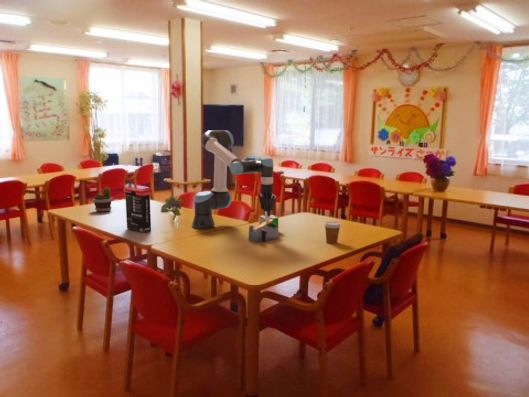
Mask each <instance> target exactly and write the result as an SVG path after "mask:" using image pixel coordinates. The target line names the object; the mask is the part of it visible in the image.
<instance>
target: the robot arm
mask: <svg viewBox="0 0 529 397" xmlns="http://www.w3.org/2000/svg"><path fill="white" fill-rule="evenodd" d="M200 141H201V142H200V143H201V145H202V147H203V148H204V150H206V151H207V152H211V153H212V154H213V155H214V163H213V165H214V168H213V169H214V170H213V188H211V191H210V190H208V191H207V190H205V191H200V192H196V193H195V194H194V199H193V201H194V217H193V221H192V223H191V227H192V228H194V229H199V230H200V229H201V230H206V229H212V228H215V225H216V224H215V221H214V217H213V211H215V210H222V209H223V210H224V209H226V208H229V207H230V205H231V203H232V195H231V192H229V189H228V187H227V178H228V177H227V176H228V175H227V174H228V173H227V171H228V170H227V169H228V167H229V171H230V173H231V174H232V175H244V174H256V173H257V174H260V190H261V191H260V193H258V194H257V196H258V199H259V204H260V209H261V210H263V216H265V222H268V221H270V215H271V212H272V211H274V207H275V204H276V203H275V202H276V199H277V195H275V194H274V192H273V191H274V159H273V158H271V157H263V158H260V160H257V159H256V160H255V159H251V160H245V161H243V160H241V159H240V158H238V157H237V156H236V155H235V154H234V153H233V152H231V151H230V149H231V148H232V147H233V145H234V143H235V142H234V136H233V134H232V133H231V132H230V131H229V130H223V129H221V130H220V129H218V130H217V129H215V130H207V131H205V132H204V133H203V134H202V135H201V139H200Z"/></svg>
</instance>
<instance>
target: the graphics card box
mask: <svg viewBox="0 0 529 397" xmlns="http://www.w3.org/2000/svg"><path fill="white" fill-rule="evenodd" d="M124 193H125V214H126V215H125V216H126V229H127V230H132V231H135V232H139V233H147V232H151V231H152V222H151V221H152V219H151V218H152V217H151V192H150V190H147V189H140V188H135V187H126V188H124Z"/></svg>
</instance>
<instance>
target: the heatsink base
mask: <svg viewBox="0 0 529 397" xmlns="http://www.w3.org/2000/svg"><path fill="white" fill-rule="evenodd" d="M256 227H257V226H255V227H254V225H253V224H251V225H248V241H249V242H255V243H258V244H259V243H262V242H266V243H267V242H269V241H272V240H275V239H278V238H279V227H278V228H276V223H273V222H270V223H269V226H264V227H263V228H262V227H258V232H257V231H252V230H251V229H252V228H256Z"/></svg>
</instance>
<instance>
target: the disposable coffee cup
mask: <svg viewBox="0 0 529 397" xmlns="http://www.w3.org/2000/svg"><path fill="white" fill-rule="evenodd" d="M341 226H342V225H341V223H340V222H337V221H326V222H325V223H324V227H325V237H326V238H325V239H326V243H327V244H329V245H335V244H337V243H338V239H339V233H340V229H341Z"/></svg>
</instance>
